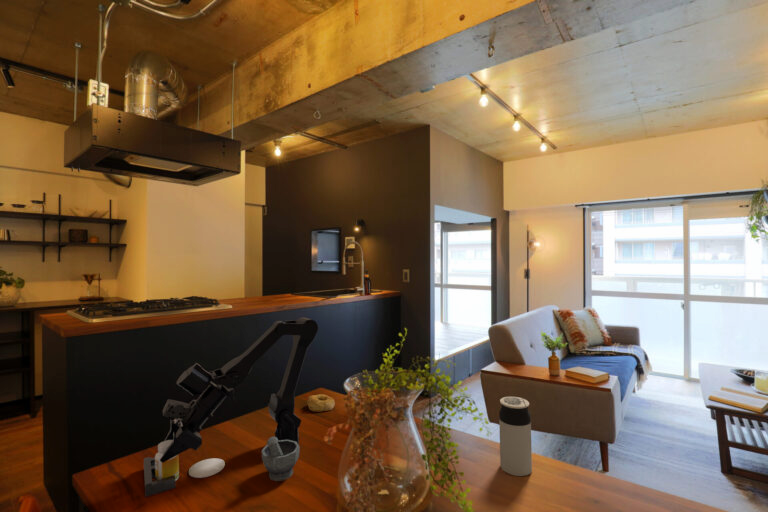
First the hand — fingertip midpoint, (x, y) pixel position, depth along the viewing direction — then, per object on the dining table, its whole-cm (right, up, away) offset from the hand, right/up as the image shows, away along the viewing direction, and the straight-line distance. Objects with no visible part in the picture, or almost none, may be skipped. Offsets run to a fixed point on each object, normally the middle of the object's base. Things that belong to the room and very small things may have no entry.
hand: (160, 456), depth 98 cm
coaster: (+9, -6, +6) cm, 13 cm away
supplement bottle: (+1, -7, +1) cm, 7 cm away
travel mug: (+94, -5, +3) cm, 94 cm away
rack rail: (-1, -7, +2) cm, 7 cm away
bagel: (+34, -7, +47) cm, 59 cm away
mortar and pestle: (+31, -6, +2) cm, 31 cm away
